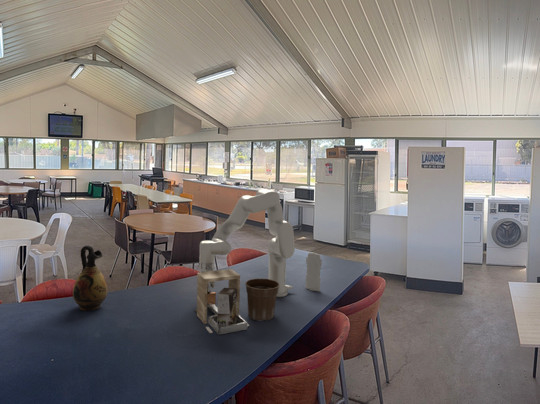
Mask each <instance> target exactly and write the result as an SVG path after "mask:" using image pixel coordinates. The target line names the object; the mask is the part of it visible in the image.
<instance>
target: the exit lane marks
mask: <svg viewBox="0 0 540 404" xmlns="http://www.w3.org/2000/svg"><path fill="white" fill-rule="evenodd" d="M247 327H250V324H249V323H247ZM205 329H206V330H207V331H208V333H209V334H213V330H212V329H211V328H210V327H209V326H205Z"/></svg>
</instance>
